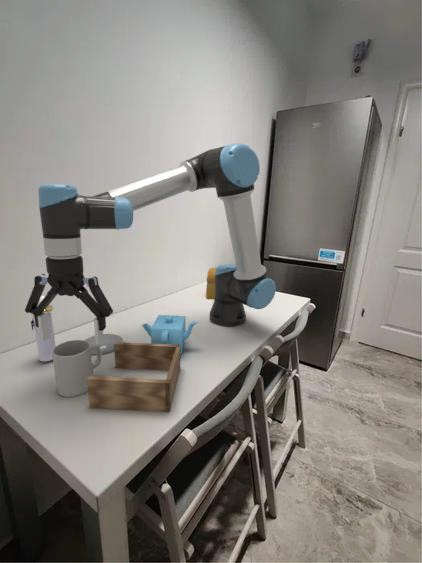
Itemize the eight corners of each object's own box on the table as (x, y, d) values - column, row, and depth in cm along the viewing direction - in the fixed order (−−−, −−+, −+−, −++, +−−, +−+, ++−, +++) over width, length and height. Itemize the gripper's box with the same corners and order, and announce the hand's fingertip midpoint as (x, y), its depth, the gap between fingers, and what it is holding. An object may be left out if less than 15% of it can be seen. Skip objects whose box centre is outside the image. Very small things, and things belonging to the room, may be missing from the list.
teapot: (149, 337, 98) (148, 307, 95) (200, 339, 98) (201, 309, 94) (136, 361, 83) (134, 327, 80) (196, 364, 82) (197, 329, 79)
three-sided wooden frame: (180, 368, 80) (180, 344, 78) (169, 411, 63) (169, 383, 61) (116, 365, 80) (115, 341, 78) (89, 407, 64) (86, 379, 62)
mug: (69, 402, 65) (64, 361, 62) (50, 388, 70) (44, 349, 67) (112, 377, 75) (109, 340, 72) (92, 366, 79) (89, 331, 76)
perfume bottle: (61, 353, 86) (54, 291, 80) (56, 363, 80) (47, 298, 75) (41, 355, 84) (31, 292, 79) (33, 365, 79) (23, 299, 74)
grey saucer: (128, 336, 98) (128, 334, 97) (114, 356, 85) (114, 353, 85) (91, 335, 98) (91, 333, 98) (72, 354, 85) (72, 351, 85)
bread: (205, 299, 139) (206, 270, 135) (207, 291, 152) (208, 264, 148) (254, 301, 138) (256, 272, 134) (251, 293, 151) (254, 266, 147)
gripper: (123, 255, 67) (127, 336, 72) (21, 250, 67) (32, 331, 73) (112, 261, 59) (116, 350, 65) (-3, 256, 60) (12, 344, 65)
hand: (72, 340), depth 69 cm, fingers open, 13 cm apart
